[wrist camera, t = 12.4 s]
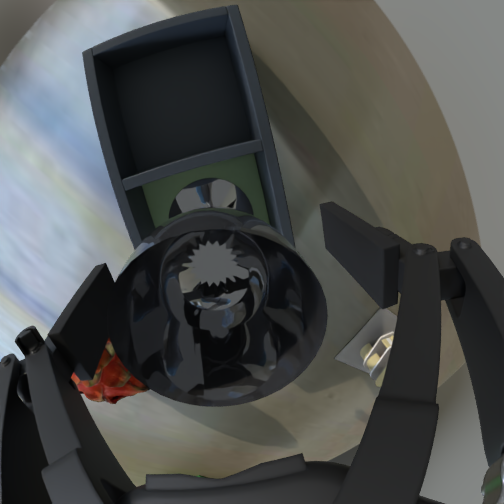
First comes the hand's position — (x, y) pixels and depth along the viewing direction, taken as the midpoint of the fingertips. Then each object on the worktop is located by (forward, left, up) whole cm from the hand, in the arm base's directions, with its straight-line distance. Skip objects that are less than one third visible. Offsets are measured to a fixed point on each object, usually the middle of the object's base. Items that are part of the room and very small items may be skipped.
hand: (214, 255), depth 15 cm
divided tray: (0, -5, -9) cm, 10 cm away
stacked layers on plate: (-16, +22, -9) cm, 29 cm away
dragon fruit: (+15, +10, -9) cm, 20 cm away
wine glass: (0, 0, -8) cm, 8 cm away
